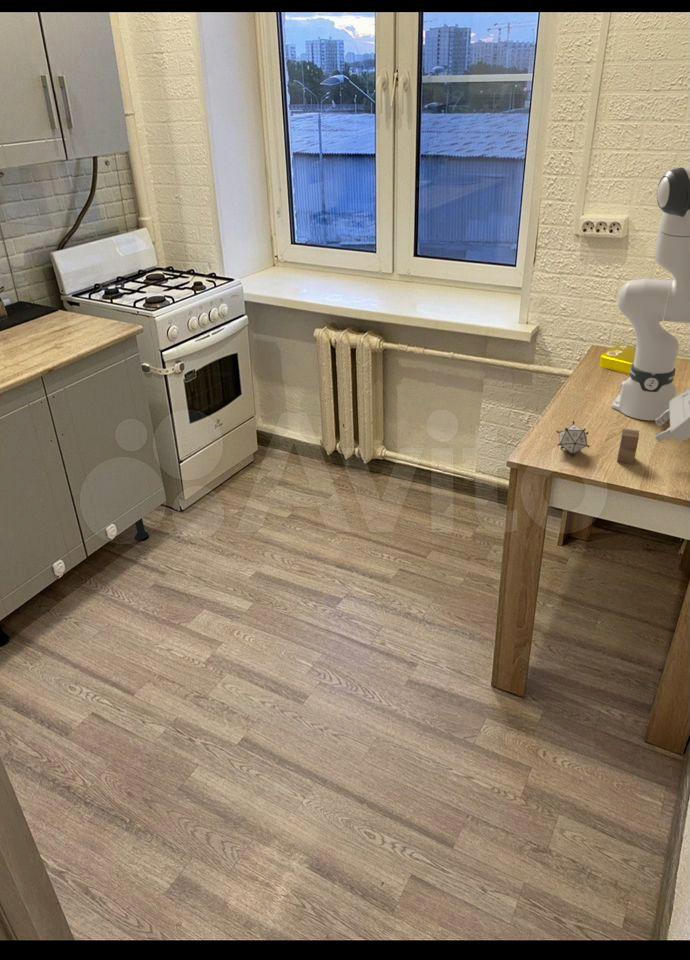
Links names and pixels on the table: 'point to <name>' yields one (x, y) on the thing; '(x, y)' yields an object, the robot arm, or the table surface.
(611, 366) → the element tile
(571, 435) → the game die
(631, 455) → the walnut block
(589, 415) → the table surface
